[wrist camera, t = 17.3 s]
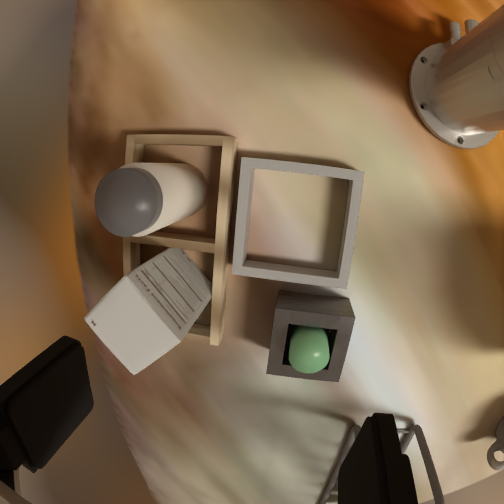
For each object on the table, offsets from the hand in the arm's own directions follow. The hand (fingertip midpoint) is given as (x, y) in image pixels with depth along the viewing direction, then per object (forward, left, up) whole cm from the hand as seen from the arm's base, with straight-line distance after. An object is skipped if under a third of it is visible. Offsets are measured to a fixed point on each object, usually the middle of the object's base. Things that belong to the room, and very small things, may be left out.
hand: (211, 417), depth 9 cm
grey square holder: (+10, +5, -27) cm, 29 cm away
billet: (-4, -11, -27) cm, 29 cm away
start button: (+10, +5, -26) cm, 28 cm away
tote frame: (-2, +2, -27) cm, 27 cm away
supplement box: (+7, -11, -27) cm, 30 cm away
